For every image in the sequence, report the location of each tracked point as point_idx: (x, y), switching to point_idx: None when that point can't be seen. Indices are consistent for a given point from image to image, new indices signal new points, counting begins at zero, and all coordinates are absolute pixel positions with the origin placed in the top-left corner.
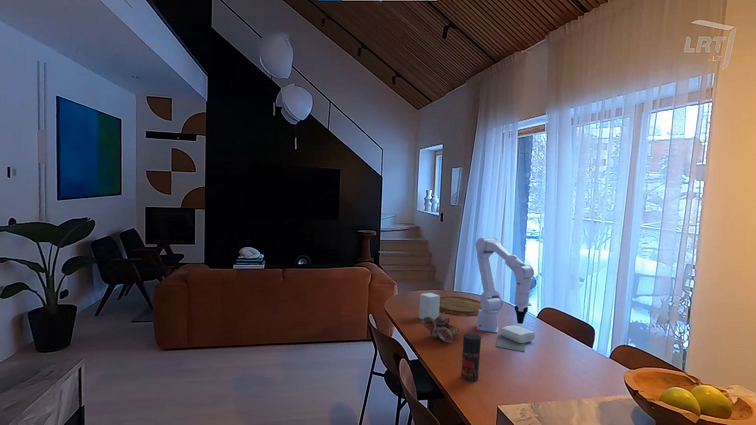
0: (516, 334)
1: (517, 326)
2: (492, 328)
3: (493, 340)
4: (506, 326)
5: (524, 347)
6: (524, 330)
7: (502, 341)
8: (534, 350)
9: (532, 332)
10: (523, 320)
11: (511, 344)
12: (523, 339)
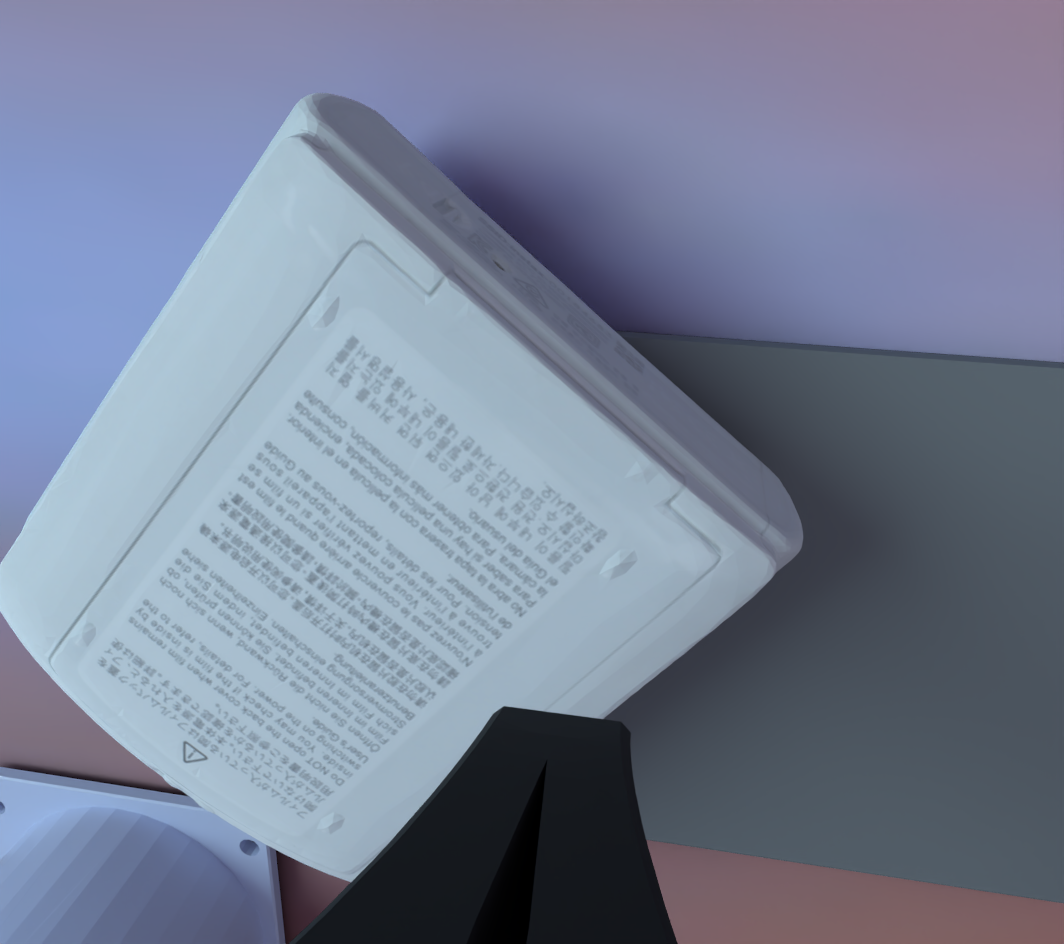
0: (684, 642)
1: (69, 585)
2: (223, 923)
3: (694, 891)
4: (205, 808)
5: (958, 370)
6: (320, 435)
7: (738, 777)
8: (1023, 114)
9: (347, 193)
10: (637, 825)
11: (853, 632)
12: (693, 421)
